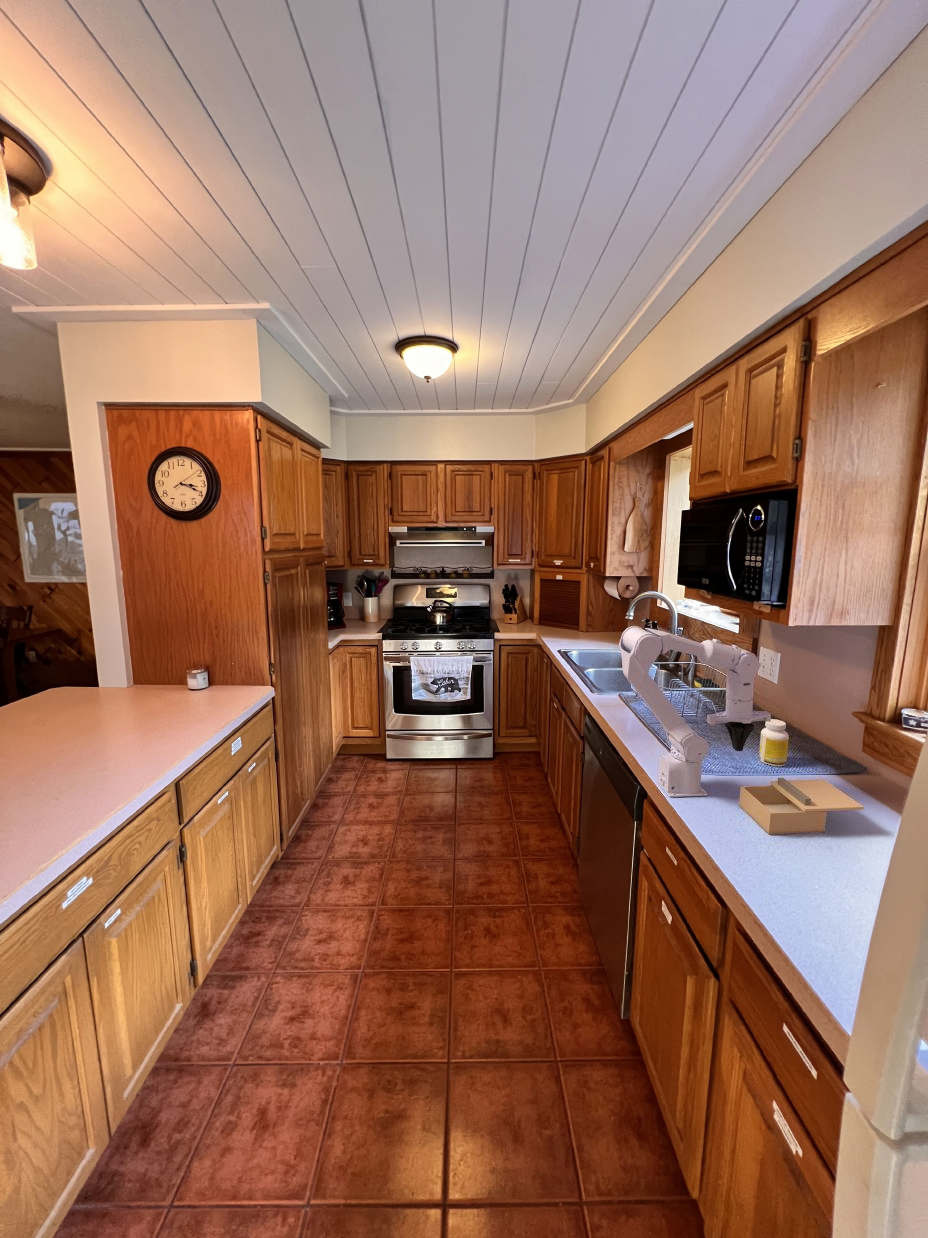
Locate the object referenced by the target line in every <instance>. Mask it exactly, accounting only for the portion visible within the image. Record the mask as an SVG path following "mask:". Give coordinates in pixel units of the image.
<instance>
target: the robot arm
mask: <svg viewBox="0 0 928 1238" xmlns="http://www.w3.org/2000/svg"><path fill="white" fill-rule="evenodd" d="M618 648H619V649H620V655H621V665H622V674H623V675H624V677H625V678H626V680H627V681H628V682H629V683H630V684H631V686H632V687H633V689H634V690H635V691H636V692H637V694H638V695H639V696H640V698H641V699H642V700H643V702H644V703H645V704H646V706H647V707H648V708H649V710H650V711H651V713H653V716H655V717H656V719H657V720H658V722H659V723H660V724H661V725H662V728H663V730H664V732H665V734H666V738H667V739H666V740H667V741H668V743H669V744H670V752H669V753H667V754H662V755H661V756H660V757H659V760H658V774H657V778H656V782H657V784H658V785H659V786H660V787H661V788H662V790H663V791H664V792H665V793H666V795H668V797H671V798H676V797H678V798H681V797H702V796H703V797H705V796H708V792H707V791H706V790H704V788H703V787H702V786H701V785H702V784H701V783H702V768H703V767H702V766H703V760H704V759H705V758H706V757H707V756H708V754H709V752H710V751H709V750H710V746H709V743H708V741H707V740H706V739H705V738H704V737H701V736H700V735H699V734H697V733H696V732H695V731H694V730H693V729H692V728H691V726H690V725H688V723H687V722H685V720H684V719H683V718H682V716H681V715H680V713H679V712H678V710H677V709H676V708H675V707H674V705H673V704H672V703H671V702H670V700H669V699H668V698H667V696H666V695H665V693H664V692H663V691H662V689H660V688H661V687H659V686H658V684H657V683H656V681H655V680H654V679H653V678H652V676H651V675H650V674H649V672H650V669H651V667H652V665H653V664H654V663H655V661H656V660H657V658H658V657H659V655H661V654H662V655H665V654H666V653H667V652H668V651H670V650H671V651H676V652H680V653H683V654H687V655H692V656H696V657H697V659H698V661H699V662H700V663H702V664H704V665H709V666H713V667H716V668H719V669H723V670H726V686H725V687H726V693H725V694H726V695H725V711H721V712H717V713H713V714H706V722H707V723H708V724H709V725H710V726H715V725H716V724H718V725H719V724H724V726H725V729H726V730H727V732H728V735H729V738H730V741H731V746H732V749H733V750H735V752H743V750H744V746H745V744H746V741H747V740H748V738H749V736H750V734H751V733H752V732H753V731H754V729H755V725H754V724H753V723H752V722H765V723H766V722H770V721H771V719H772V713H769V711H767V710H765V711H763V710H759V711H758V710H754V709H753V706H754V705H753V704H754V703H753V702H754V687H755V686H754V685H755V684H754V681H755V679H756V674H757V673H758V672H759V670H760V668H761V662H759V658H758V656H757V655H756V654H755V653H753V652H750V651H748V650H746V649H743V648H741V647H739V646H738V645H736V644H732V645H728V644H726V643H725V644H724V643H722V641H721V640H720V639H716V638H712V640H710V639H706V640H703V641H702V642H698V641H695V640H692V639H689V638H686V637H682V636H679V635H676V634H673V633H670V632H666V631H664V630H657V629H655V628H650V627H645V628H644V629H643V627H640V626H637V625H631V626H628V627H627V628H626V629H625V630H624V631H623V632H622V633H621V637H620V639H619V643H618Z"/></svg>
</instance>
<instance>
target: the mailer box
mask: <svg viewBox="0 0 928 1238" xmlns="http://www.w3.org/2000/svg"><path fill="white" fill-rule="evenodd" d="M738 801H739V803H738V807H740V808H741V810H742V811H743V812H745V814H747V815H748V817H750V818H751V819H752V820H753V821H754V822H755V823H756V824H757V825H758V826H759V827H760V828H761V829H762V830H763V832H765V833H766V834H767V835H768V836H771V835H772V836H774V835H799V834H800V835H803V834H822V833H823V834H824V833H825V830H826V823H827V814H828V811H812V812H804V811H803V810H802V809H800V808H799V807H798V806H797V805H796V804H794V803H793V802H792V801H791V800H789V799H788V798H787V797H786V796H784V795H783V794H782V793H781V792H780V791H778V790H777V789H776V788H775V787H773V786H772V785H771V784H770V785H769V784H767V785H746V786H744V785H743V786H742V785H741V786H740V791H739V800H738Z"/></svg>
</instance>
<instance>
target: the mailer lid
mask: <svg viewBox="0 0 928 1238" xmlns="http://www.w3.org/2000/svg"><path fill="white" fill-rule="evenodd" d="M769 784H770V785H772V786H773V787H775V788H776V789H777V790H778V791H780V792H781V793H782V794H783V795H784V796H786V797H787V798H788V799H789V800H791V801H792V802H793V803H794V804H796V805H797V806H798V807H799V808H800V809H802V810H803V811H804V812H812V811H827V812H832V811H833V812H834V811H835V812H836V811H838V812H839V811H861V810H865V807H864V805H861V804H860V803H859V802H857V801H856V800H855V799H853V798H851V797H850V796H849V795H847V794H846V793H844V792H843V791H841V789H839V788H837V787H835V786H834V785H833V784H831V783H830V782H828V781H827V780H825V779H824V778H821V779H820V778H819V779H797V780H796V779H793V780H787V779H786V778H784V777H777V780H770V781H769Z"/></svg>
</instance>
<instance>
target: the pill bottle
mask: <svg viewBox="0 0 928 1238" xmlns="http://www.w3.org/2000/svg"><path fill="white" fill-rule="evenodd" d="M764 724H765V725H764V726H765V727H764V728H762V730H761V731H760V741H759V754H758V759H759V762H761V763H763V764H765V765H767V764H768V765H767V766H770V765H771V767H777V766H778V768H779V767H783V766H786V765H787V761H788V749H789V740H790V735H789V733H788V732H787V731H786V727H787V723H786V722H785V721H783V720H779V719H773V718H771V721H770V722H766V721H765V723H764Z"/></svg>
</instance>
